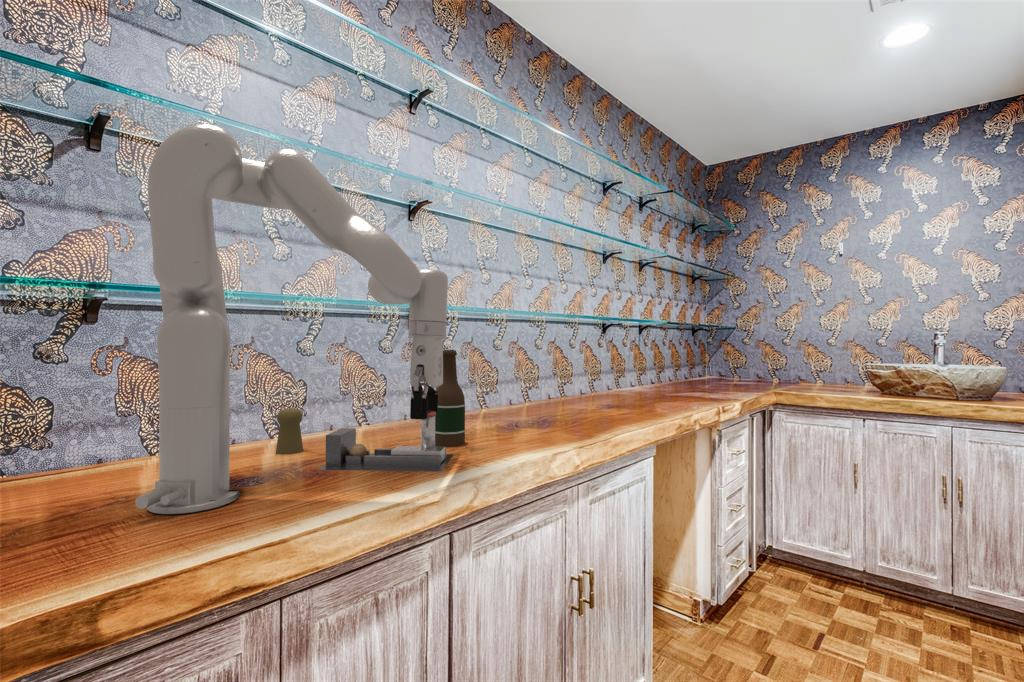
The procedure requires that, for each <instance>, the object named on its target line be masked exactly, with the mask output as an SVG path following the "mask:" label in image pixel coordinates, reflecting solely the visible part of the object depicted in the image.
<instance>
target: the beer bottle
mask: <svg viewBox="0 0 1024 682" xmlns="http://www.w3.org/2000/svg"><path fill="white" fill-rule="evenodd" d="M457 356H458V353H457V350H455V349H444V350H443V384H442V385H441V386H439V387H438V412H437V413H436V415H435V446H440V447H445V448H457V447H461V446H464V445H465V443H466V401H465V395H464V392H463V390H462V387H461V386H460V384H459V382H458V377H457V376H458V373H457V371H458V370H457Z"/></svg>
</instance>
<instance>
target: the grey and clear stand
mask: <svg viewBox="0 0 1024 682" xmlns="http://www.w3.org/2000/svg"><path fill="white" fill-rule="evenodd" d="M435 415H436V411H427V419H425V420H420V421H421V422H420V425H421V428H420V429H421V430H420V435H421V436H420V438H421V439H420V444H421V445H416V446H415V445H397V446H395V447H394V448H392V449H393V450H391V456H440V463H441V462H442V461H443V460H444V459H445V449H446V447H440V446H435Z"/></svg>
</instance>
